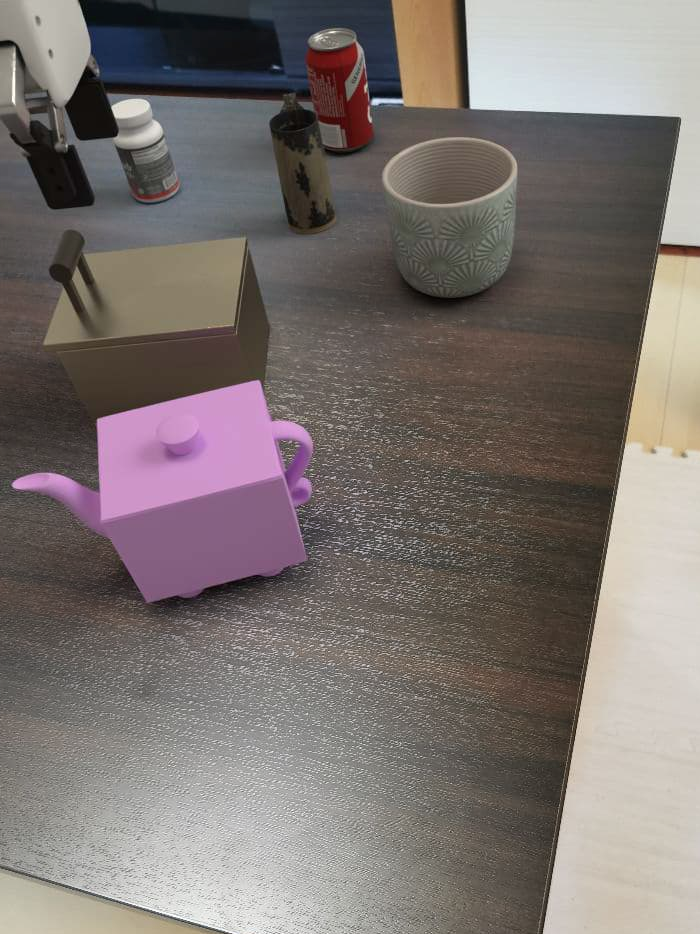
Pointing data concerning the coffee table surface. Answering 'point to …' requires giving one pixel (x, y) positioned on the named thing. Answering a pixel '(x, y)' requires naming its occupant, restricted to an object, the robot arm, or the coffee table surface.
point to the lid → (145, 292)
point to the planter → (451, 214)
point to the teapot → (193, 491)
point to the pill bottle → (144, 152)
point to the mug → (302, 168)
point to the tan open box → (173, 362)
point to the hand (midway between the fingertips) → (86, 169)
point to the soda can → (339, 89)
